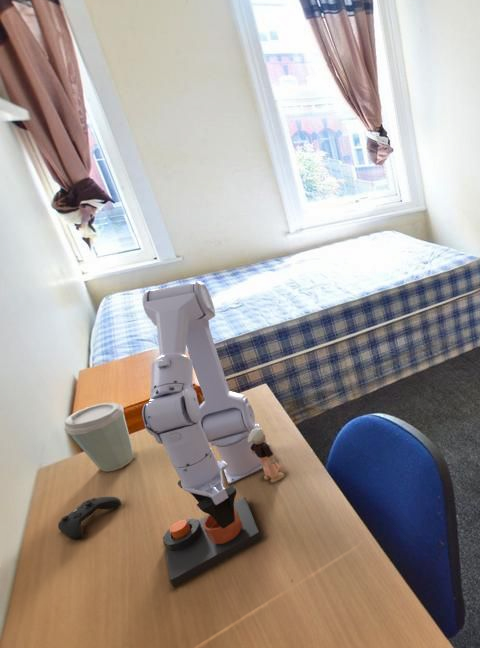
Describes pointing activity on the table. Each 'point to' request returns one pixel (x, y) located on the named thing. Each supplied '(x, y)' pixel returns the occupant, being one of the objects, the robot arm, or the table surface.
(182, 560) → the grey push button box
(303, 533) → the table surface
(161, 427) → the robot arm
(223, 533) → the dish
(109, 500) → the game controller
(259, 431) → the grandmother figurine
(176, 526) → the tare button
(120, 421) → the disposable coffee cup
